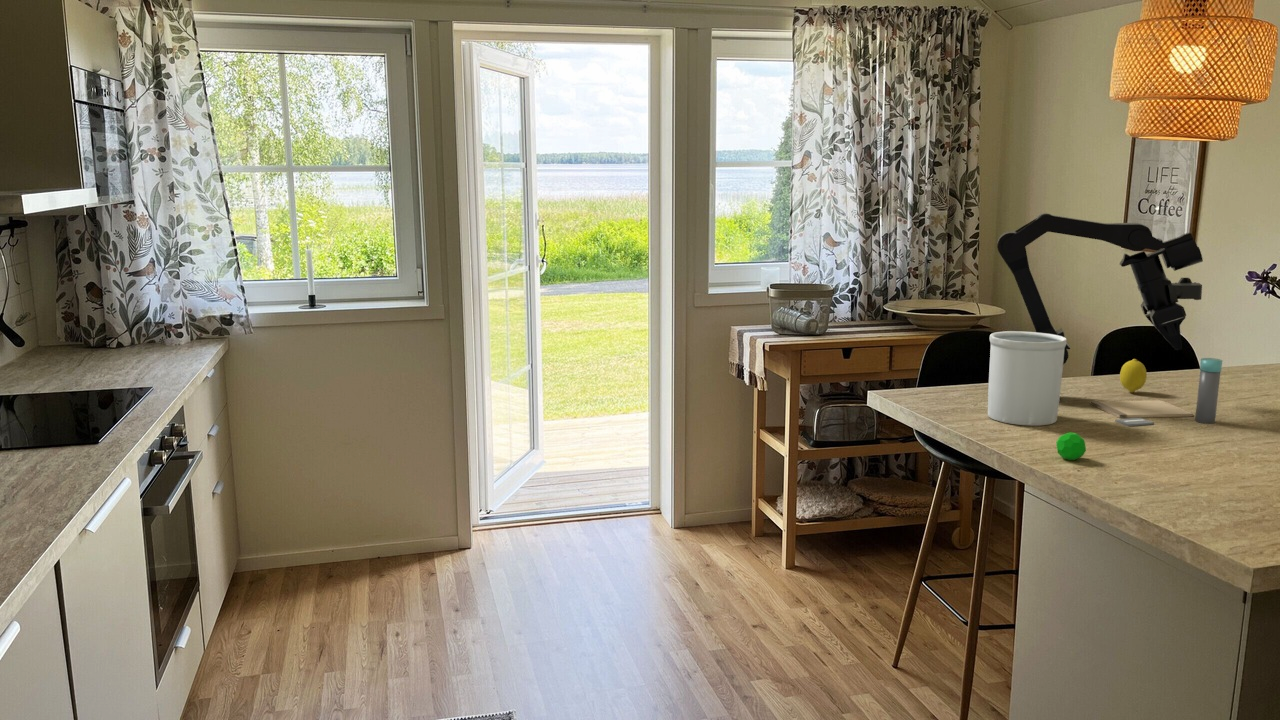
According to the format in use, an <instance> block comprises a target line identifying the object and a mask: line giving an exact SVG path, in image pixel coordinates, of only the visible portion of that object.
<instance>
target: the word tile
mask: <svg viewBox="0 0 1280 720" xmlns="http://www.w3.org/2000/svg"><path fill="white" fill-rule="evenodd" d="M1114 422H1115V423H1118V424H1120V425H1124V426H1127V427H1135V426H1148V425H1149V426H1150V425H1151V426H1152V425H1154V424H1155V422H1154V421H1151V420H1148V419H1145V418H1144V417H1143V418H1116V419H1114Z"/></svg>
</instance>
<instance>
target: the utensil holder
mask: <svg viewBox="0 0 1280 720" xmlns="http://www.w3.org/2000/svg"><path fill="white" fill-rule="evenodd" d="M1067 339H1068V338H1066V337H1065V336H1064V337H1062V336H1058V335H1053V334H1046V333H1037V332H1036V331H1019V330H1018V331H1017V330H1016V331H1015V330H1007V331H996V332H992V333H991V334H990V335H989V342H990V349H989V350H990V351H989V352H990V353H989V354H990V355H989V356H990V357H989V370H988V371H989V372H988V390H987V393H988V394H987V416H988V417H989V418H990V419H992V420H995V421H998V422H1000V423H1004V424H1005V423H1006V424H1010V425H1018V426H1028V427H1029V426H1032V427H1033V426H1047V425H1052V424H1054V423H1056V422H1057V420H1058V413H1059V407H1060V406H1059V405H1060V400H1059V399H1060V398H1061V388H1062V380H1063V379H1062V378H1063V368H1064V365H1063V361H1064V348H1065V346H1066V343H1067V342H1068V341H1067Z"/></svg>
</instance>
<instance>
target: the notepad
mask: <svg viewBox="0 0 1280 720" xmlns="http://www.w3.org/2000/svg"><path fill="white" fill-rule="evenodd" d="M1090 405H1091V406H1093V407H1095V408H1097V409H1099V410H1102V411H1104V412H1106V413H1108V414H1110V415H1112V416H1114V417H1117V419H1129V418H1143V419H1144V418H1175V417H1176V418H1177V417H1178V418H1179V417H1182V418H1183V417H1186V418H1187V417H1194V413H1193V412H1190V411H1188V410H1185V409H1183V408H1180V407H1178V406H1176V405H1173V404H1171V403H1169V402H1167V401H1164V400H1161V399H1160V400H1159V399H1157V400H1156V399H1154V400H1151V399H1150V400H1149V399H1148V400H1145V399H1144V400H1110V401H1109V400H1107V401H1105V400H1103V401H1102V400H1101V401H1099V400H1096V401H1095V400H1092V401H1091V400H1090Z"/></svg>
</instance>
